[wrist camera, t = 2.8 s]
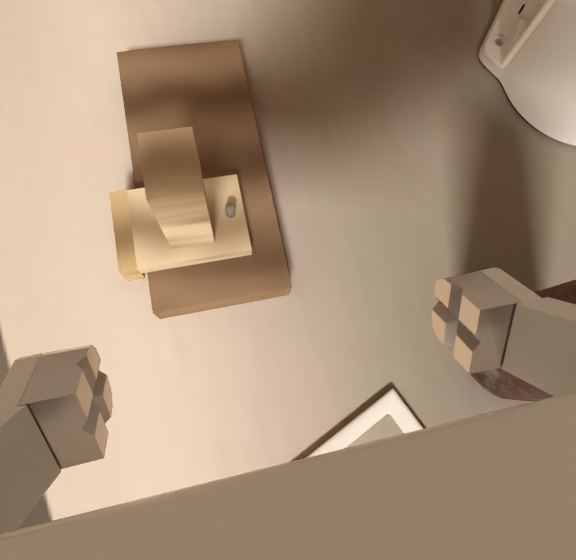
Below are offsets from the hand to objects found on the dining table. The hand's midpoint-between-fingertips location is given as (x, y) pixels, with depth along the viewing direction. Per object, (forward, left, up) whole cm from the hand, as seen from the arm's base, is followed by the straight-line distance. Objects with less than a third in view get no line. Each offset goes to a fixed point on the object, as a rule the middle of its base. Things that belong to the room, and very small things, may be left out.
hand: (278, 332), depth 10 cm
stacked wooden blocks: (-9, -8, -22) cm, 25 cm away
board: (-14, -9, -23) cm, 28 cm away
